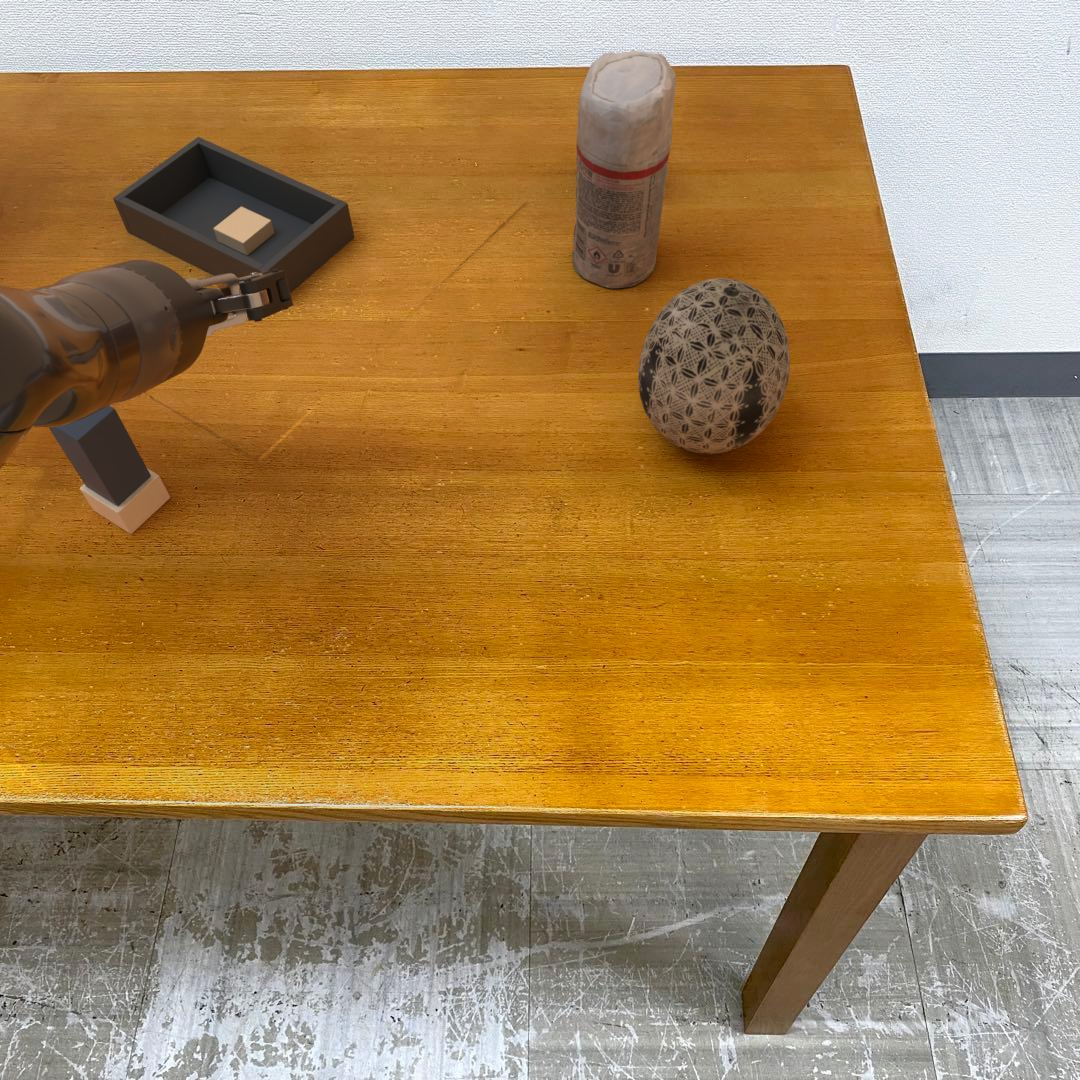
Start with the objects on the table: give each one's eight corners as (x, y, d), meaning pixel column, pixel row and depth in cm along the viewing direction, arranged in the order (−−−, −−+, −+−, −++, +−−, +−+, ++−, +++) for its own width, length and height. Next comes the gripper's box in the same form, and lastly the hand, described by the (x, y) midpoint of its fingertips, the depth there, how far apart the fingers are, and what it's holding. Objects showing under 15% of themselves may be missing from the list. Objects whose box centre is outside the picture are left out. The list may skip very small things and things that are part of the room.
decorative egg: (611, 400, 88) (619, 264, 75) (732, 364, 90) (760, 225, 78) (669, 502, 82) (688, 371, 69) (797, 459, 84) (839, 326, 71)
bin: (129, 236, 101) (112, 198, 97) (211, 175, 106) (198, 136, 103) (276, 311, 95) (264, 272, 91) (355, 242, 100) (347, 202, 96)
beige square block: (217, 241, 100) (212, 228, 98) (245, 219, 101) (241, 205, 100) (247, 256, 98) (243, 242, 97) (275, 233, 100) (271, 219, 99)
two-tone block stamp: (93, 510, 82) (34, 420, 73) (133, 474, 84) (81, 382, 75) (131, 534, 81) (76, 446, 72) (171, 497, 83) (123, 407, 74)
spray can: (677, 269, 97) (701, 72, 81) (609, 305, 95) (619, 109, 78) (622, 223, 101) (635, 26, 84) (555, 256, 98) (555, 59, 82)
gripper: (212, 248, 58) (297, 226, 73) (-14, 287, 60) (114, 258, 75) (247, 376, 61) (322, 329, 76) (29, 410, 63) (144, 358, 78)
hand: (218, 294), depth 76 cm, fingers open, 8 cm apart
